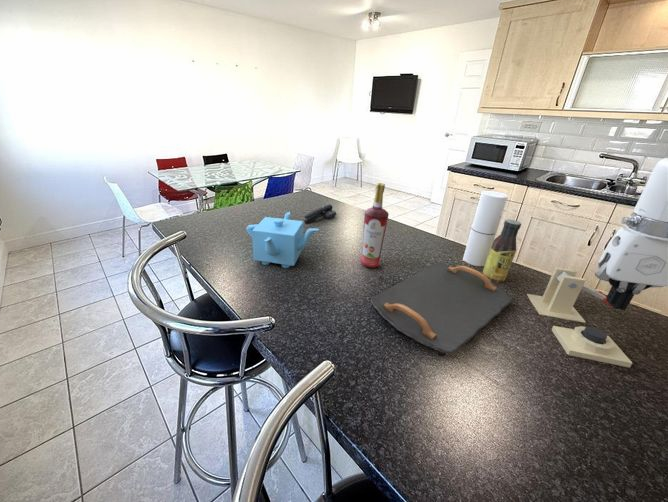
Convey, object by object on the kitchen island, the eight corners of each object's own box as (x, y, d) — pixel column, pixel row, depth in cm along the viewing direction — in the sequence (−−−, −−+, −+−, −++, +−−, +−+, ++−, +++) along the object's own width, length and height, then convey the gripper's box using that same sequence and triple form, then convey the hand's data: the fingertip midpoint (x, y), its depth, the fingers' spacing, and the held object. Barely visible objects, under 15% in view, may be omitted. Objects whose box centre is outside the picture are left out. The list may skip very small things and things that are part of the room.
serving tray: (439, 266, 99) (443, 250, 96) (517, 302, 82) (524, 284, 80) (360, 311, 78) (362, 291, 75) (442, 371, 61) (449, 349, 58)
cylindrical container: (457, 259, 104) (476, 191, 94) (473, 256, 106) (493, 189, 96) (474, 269, 98) (495, 198, 88) (490, 266, 100) (513, 196, 90)
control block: (604, 343, 69) (612, 330, 68) (627, 370, 62) (637, 356, 60) (550, 332, 72) (556, 319, 70) (566, 357, 65) (573, 344, 63)
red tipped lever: (597, 297, 77) (604, 290, 76) (609, 309, 73) (617, 302, 72) (553, 275, 78) (561, 268, 77) (563, 285, 74) (570, 278, 73)
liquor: (357, 268, 97) (366, 186, 86) (360, 257, 104) (369, 180, 92) (380, 272, 95) (392, 188, 84) (381, 261, 102) (393, 182, 90)
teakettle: (244, 253, 104) (241, 215, 98) (290, 242, 113) (290, 206, 107) (267, 280, 90) (266, 237, 84) (318, 264, 99) (319, 224, 93)
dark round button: (597, 334, 67) (601, 328, 66) (607, 346, 64) (611, 340, 63) (578, 330, 68) (581, 324, 67) (587, 342, 64) (591, 336, 64)
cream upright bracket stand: (566, 304, 82) (583, 268, 77) (584, 325, 74) (604, 287, 70) (525, 297, 85) (539, 261, 80) (538, 317, 77) (555, 279, 72)
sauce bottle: (492, 286, 89) (513, 227, 81) (476, 275, 95) (494, 218, 86) (509, 283, 91) (531, 225, 83) (492, 273, 96) (511, 216, 88)
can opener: (327, 212, 143) (328, 201, 141) (337, 216, 138) (338, 205, 136) (299, 221, 133) (299, 209, 131) (309, 226, 128) (309, 214, 126)
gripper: (620, 229, 53) (581, 310, 61) (731, 239, 49) (675, 324, 57) (596, 214, 60) (563, 289, 67) (692, 222, 56) (646, 301, 63)
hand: (615, 305), depth 62 cm, fingers closed
